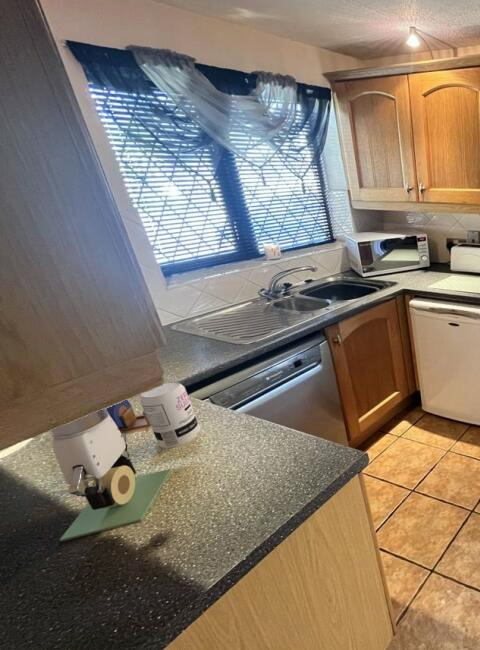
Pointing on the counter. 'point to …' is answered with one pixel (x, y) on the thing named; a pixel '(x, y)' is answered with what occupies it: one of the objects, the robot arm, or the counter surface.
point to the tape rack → (134, 422)
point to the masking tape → (119, 484)
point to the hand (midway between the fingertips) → (115, 490)
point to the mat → (119, 508)
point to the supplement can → (170, 414)
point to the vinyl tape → (118, 413)
